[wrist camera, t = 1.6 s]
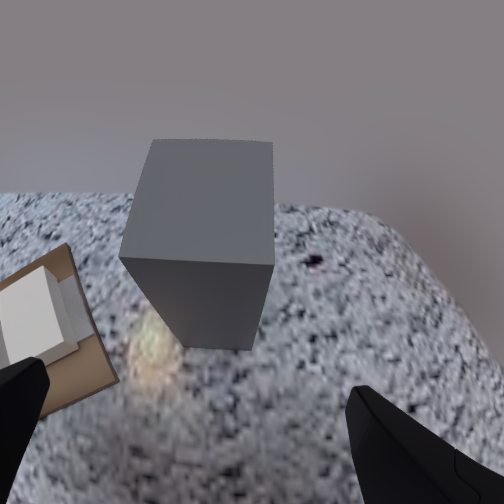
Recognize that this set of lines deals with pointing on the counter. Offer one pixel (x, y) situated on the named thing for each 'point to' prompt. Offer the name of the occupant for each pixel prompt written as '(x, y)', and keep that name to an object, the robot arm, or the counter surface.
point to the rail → (74, 311)
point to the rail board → (79, 361)
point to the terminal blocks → (35, 319)
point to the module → (204, 238)
